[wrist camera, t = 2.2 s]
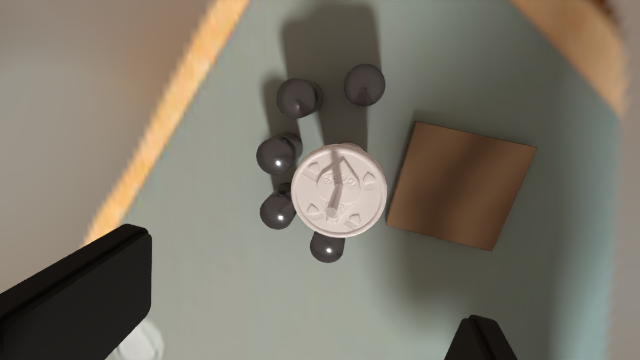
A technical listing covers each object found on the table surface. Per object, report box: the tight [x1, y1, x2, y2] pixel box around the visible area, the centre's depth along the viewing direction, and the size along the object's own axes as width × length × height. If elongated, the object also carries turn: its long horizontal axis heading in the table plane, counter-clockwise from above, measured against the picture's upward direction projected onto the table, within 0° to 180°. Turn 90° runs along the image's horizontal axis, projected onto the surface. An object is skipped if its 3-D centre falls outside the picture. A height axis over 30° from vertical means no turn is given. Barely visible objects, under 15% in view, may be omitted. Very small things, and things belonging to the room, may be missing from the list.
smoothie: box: [291, 142, 387, 238], centre depth 22 cm, size 6×6×14 cm
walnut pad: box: [386, 121, 537, 251], centre depth 27 cm, size 10×10×1 cm
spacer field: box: [256, 64, 385, 263], centre depth 27 cm, size 9×17×4 cm, turn 169°
